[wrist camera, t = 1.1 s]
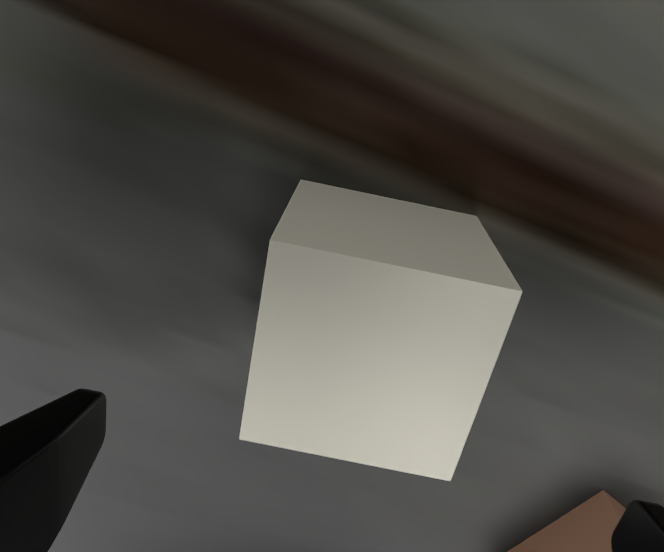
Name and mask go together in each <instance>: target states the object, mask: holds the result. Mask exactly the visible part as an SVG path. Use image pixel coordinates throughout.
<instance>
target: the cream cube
mask: <svg viewBox="0 0 664 552" xmlns="http://www.w3.org/2000/svg"><path fill="white" fill-rule="evenodd" d="M522 292H523V291H522V290H521V288H520V286H519V285H518V283H517V281H516V280H515V278H514V277H513V275H512V273H511V272H510V270H509V268H508V267H507V265H506V263H505V262H504V260H503V258H502V257H501V255H500V254H499V252H498V250H497V249H496V247H495V245H494V244H493V242H492V240H491V239H490V237H489V235H488V234H487V232H486V231H485V229H484V227H483V226H482V224H481V222H480V221H479V219H478V217H477V216H474V215H470V214H465V213H460V212H455V211H450V210H446V209H441V208H436V207H431V206H426V205H422V204H417V203H412V202H407V201H402V200H398V199H393V198H388V197H383V196H378V195H374V194H369V193H364V192H359V191H354V190H349V189H345V188H340V187H335V186H330V185H325V184H321V183H316V182H311V181H306V180H300V182H299V184H298V186H297V188H296V190H295V191H294V193H293V195H292V197H291V199H290V201H289V203H288V205H287V207H286V209H285V211H284V213H283V215H282V217H281V219H280V221H279V223H278V225H277V227H276V229H275V231H274V232H273V234H272V236H271V238H270V242H269V248H268V255H267V261H266V268H265V274H264V281H263V287H262V294H261V300H260V307H259V313H258V320H257V326H256V333H255V339H254V346H253V352H252V358H251V365H250V371H249V378H248V384H247V391H246V397H245V404H244V410H243V417H242V423H241V430H240V436H239V439H240V440H245V441H250V442H255V443H260V444H265V445H270V446H275V447H280V448H286V449H291V450H296V451H301V452H306V453H311V454H316V455H321V456H326V457H331V458H336V459H341V460H346V461H351V462H356V463H361V464H366V465H371V466H376V467H381V468H386V469H391V470H396V471H401V472H406V473H411V474H416V475H421V476H426V477H431V478H436V479H441V480H446V481H451V479H452V476H453V473H454V471H455V468H456V465H457V463H458V460H459V458H460V455H461V452H462V450H463V447H464V444H465V442H466V439H467V437H468V434H469V431H470V429H471V426H472V423H473V421H474V418H475V415H476V413H477V410H478V408H479V405H480V402H481V400H482V397H483V394H484V392H485V389H486V387H487V384H488V381H489V379H490V376H491V373H492V371H493V368H494V366H495V363H496V360H497V358H498V355H499V352H500V350H501V347H502V344H503V342H504V339H505V337H506V334H507V331H508V329H509V326H510V323H511V321H512V318H513V316H514V313H515V310H516V308H517V305H518V302H519V300H520V297H521V295H522Z"/></svg>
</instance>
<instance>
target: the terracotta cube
mask: <svg viewBox="0 0 664 552" xmlns="http://www.w3.org/2000/svg"><path fill="white" fill-rule="evenodd" d="M625 510H626V508H625V507H623V506H622V505H621V504H620V503H619V502H617V501H616V500H615V499H614V498H613V497H611V496H610V495H609V494H608V493H607V492H605V491H604V490H602V491H601V492H599V493H598V494H596V495H594V496H593V497H591V498H590V499H588V500H587V501H585V502H584V503H582V504H580V505H579V506H577V507H576V508H574V509H573V510H571V511H570V512H568V513H566V514H565V515H563V516H562V517H560V518H559V519H557V520H556V521H554V522H552V523H551V524H549V525H548V526H546V527H545V528H543V529H542V530H540V531H538V532H537V533H535V534H534V535H532V536H531V537H529V538H528V539H526V540H525V541H523V542H521V543H520V544H518V545H517V546H515V547H514V548H512V549H511V550H509V551H507V552H612V547H611V537H612V533H613V531H614V529H615V527H616V525H617V524H618V522H619V520H620V518H621V517H622V515H623V513H624V512H625Z"/></svg>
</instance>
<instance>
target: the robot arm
mask: <svg viewBox="0 0 664 552" xmlns="http://www.w3.org/2000/svg"><path fill="white" fill-rule="evenodd" d="M105 432H106V397H105V395H104V394H103V393H102V392H98V391H93V390H88V389H78V390H75V391H73V392H71V393H69V394H67V395H65V396H63V397H60V398H58V399H56V400H54V401H52V402H50V403H48V404H46V405H44V406H42V407H40V408H37V409H35V410H33V411H31V412H29V413H27V414H25V415H23V416H21V417H19V418H17V419H15V420H12V421H10V422H8V423H6V424H4V425H2V426H0V552H47V551H48V550H49V548H50V547H51V545H52V543H53V542H54V540H55V538H56V537H57V535H58V533H59V531H60V530H61V528H62V526H63V524H64V522H65V520H66V518H67V516H68V514H69V512H70V510H71V508H72V506H73V504H74V502H75V500H76V498H77V496H78V493H79V491H80V489H81V487H82V485H83V483H84V481H85V479H86V477H87V475H88V473H89V471H90V469H91V467H92V465H93V463H94V461H95V459H96V457H97V454H98V452H99V450H100V448H101V446H102V444H103V441H104V437H105ZM611 547H612V552H664V507H662V506H661V505H659V504H656V503H651V502H646V501H641V500H634V501H632V502H631V503H629V505H628V506H627V508H626V510H625V512H624V513H623V515H622V517H621V518H620V520H619V522H618V524H617V525H616V527H615V529H614V531H613V533H612V537H611Z"/></svg>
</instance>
